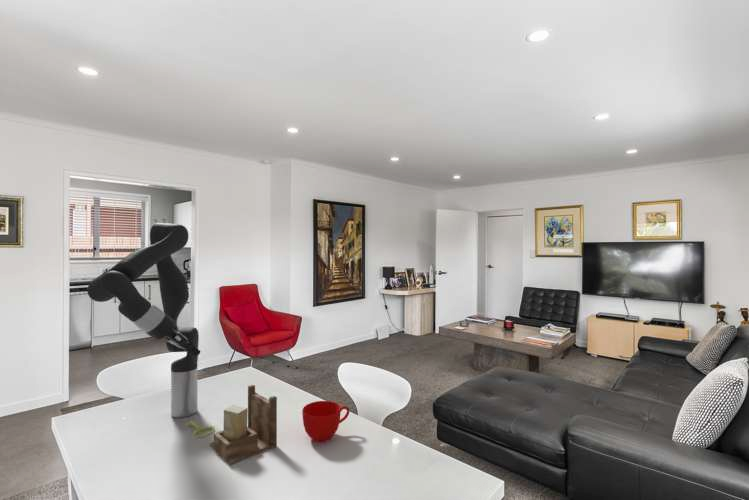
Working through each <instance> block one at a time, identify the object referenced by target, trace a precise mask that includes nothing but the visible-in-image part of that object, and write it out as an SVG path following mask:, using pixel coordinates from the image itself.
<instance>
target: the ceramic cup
mask: <svg viewBox="0 0 749 500" xmlns="http://www.w3.org/2000/svg"><path fill="white" fill-rule="evenodd" d="M344 409H346V413H345V415H344V416H343V417H342V418H341V413H342V411H343V410H344ZM301 413H302V422H303V423H302V424H303V427H304V430H305V433H306V434H307V436H308V437H309V439H311V440H312V442H315V443H326V442H328V441H330V440H332V437H333V436H335V434H336V433H337V431H338V428H339V425H340V424H341V423H343V422H344V421H345V420H346V419H347V418H348V417H349V414H350V407H348V406H346V405H342V406H341V405H340V404H339V403H337V402H335V401H331V400H320V401H319V400H318V401H313V402H310V403H307V404H306V405H304V406H303V408H302V412H301Z"/></svg>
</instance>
